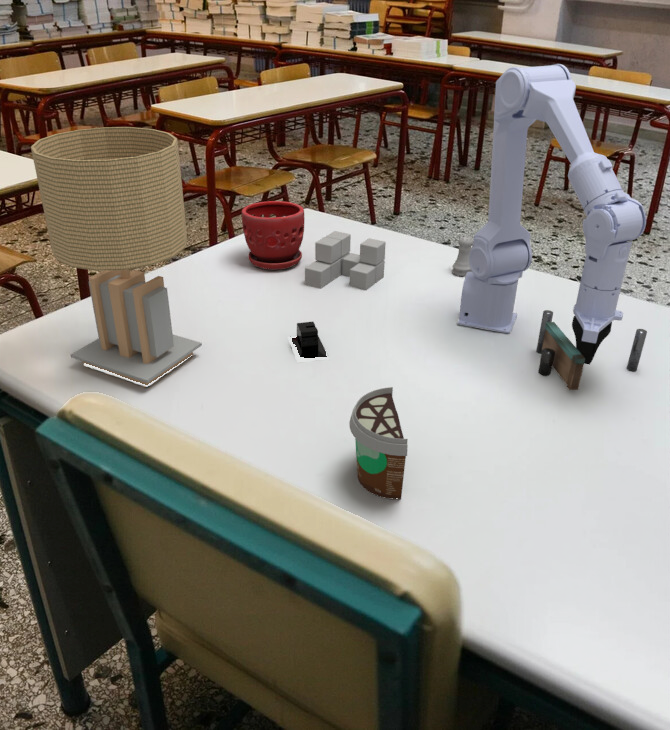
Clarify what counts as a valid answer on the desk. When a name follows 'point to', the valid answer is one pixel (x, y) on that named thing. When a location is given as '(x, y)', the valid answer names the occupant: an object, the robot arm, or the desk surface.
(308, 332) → the black stepped block
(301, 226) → the plant pot
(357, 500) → the desk surface
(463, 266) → the rook chess piece
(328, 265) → the grey cube structure
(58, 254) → the desk lamp
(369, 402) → the food container
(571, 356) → the open box
